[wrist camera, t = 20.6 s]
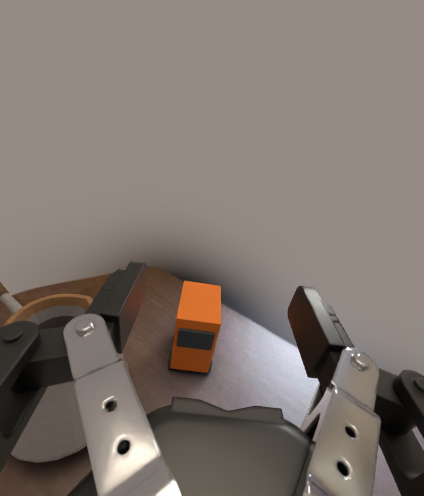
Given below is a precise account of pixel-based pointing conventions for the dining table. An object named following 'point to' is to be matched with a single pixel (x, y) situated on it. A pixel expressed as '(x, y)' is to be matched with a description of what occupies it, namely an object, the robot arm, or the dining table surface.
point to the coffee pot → (56, 396)
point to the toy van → (196, 327)
